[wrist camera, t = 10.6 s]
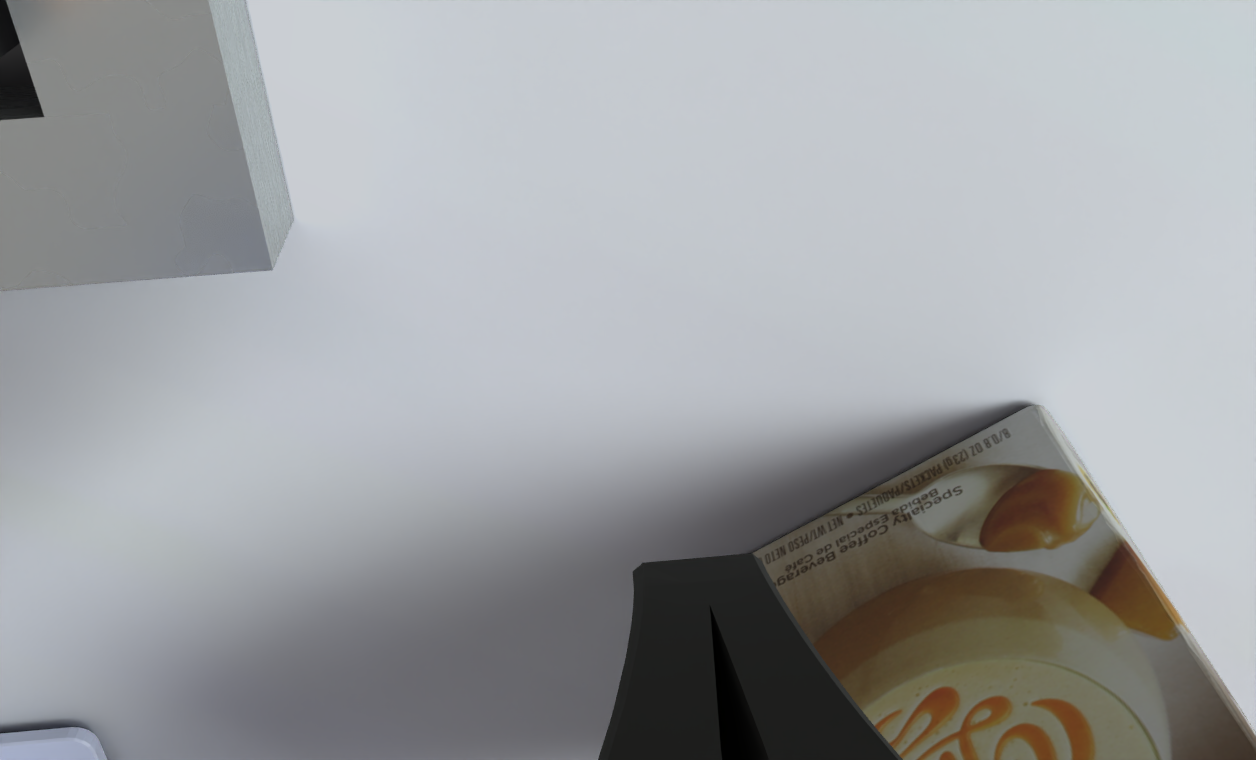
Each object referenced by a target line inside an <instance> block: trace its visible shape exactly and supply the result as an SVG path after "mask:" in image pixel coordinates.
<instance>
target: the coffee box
mask: <svg viewBox="0 0 1256 760" xmlns="http://www.w3.org/2000/svg"><path fill="white" fill-rule="evenodd" d="M752 554H754V555H755V556H756V557H758V558H759V559H760V560H761V561H762V562H763V564H764V566H765V568H766V570H767V572H768V574H769V576H770V577H771V579H772V581H773V583H774V585H775V586H776V588H777V590H778V591H779V593H780V595H781V597H782V598H783V600H784V601H785V603H786V605H787V606H788V608H789V609H790V611H791V613H792V614H793V616H794V617H795V619H796V620H797V622H798V623H799V625H800V626H801V628H802V629H803V631H804V632H805V634H806V635H807V637H808V638H809V640H810V641H811V643H812V644H813V646H814V647H815V649H816V650H817V651H818V653H819V654H820V656H821V657H822V658H823V660H824V661H825V663H826V664H827V665H828V667H829V668H830V669H831V671H832V672H833V673H834V675H835V676H836V677H837V679H838V680H839V681H840V683H841V684H842V685H843V687H844V688H845V689H846V691H847V692H848V693H849V695H850V696H851V697H852V699H853V700H854V701H855V702H856V704H857V705H858V706H859V707H860V709H861V710H862V711H863V712H864V714H865V715H866V716H867V717H868V719H869V720H870V721H871V722H872V724H873V725H874V726H875V727H876V728H877V730H878V731H879V732H880V733H881V734H882V736H883V737H884V738H885V739H886V740H887V741H888V743H889V744H890V745H891V746H892V747H893V748H894V750H895V751H896V752H897V753H898V754H899V756H900V757H901V758H902V759H903V760H1256V732H1255V730H1254V729H1253V727H1252V726H1251V724H1250V723H1249V721H1248V720H1247V718H1246V716H1245V715H1244V713H1243V712H1242V710H1241V709H1240V707H1239V706H1238V704H1237V703H1236V701H1235V699H1234V698H1233V696H1232V695H1231V693H1230V692H1229V690H1228V689H1227V687H1226V686H1225V684H1224V682H1223V681H1222V679H1221V678H1220V676H1219V675H1218V673H1217V672H1216V670H1215V669H1214V667H1213V665H1212V664H1211V662H1210V661H1209V659H1208V658H1207V656H1206V655H1205V653H1204V652H1203V650H1202V649H1201V647H1200V645H1199V644H1198V642H1197V641H1196V639H1195V638H1194V636H1193V635H1192V633H1191V632H1190V630H1189V628H1188V627H1187V625H1186V624H1185V622H1184V621H1183V619H1182V617H1181V616H1180V614H1179V613H1178V611H1177V610H1176V608H1175V606H1174V605H1173V603H1172V602H1171V600H1170V599H1169V597H1168V596H1167V594H1166V592H1165V591H1164V589H1163V587H1162V586H1161V584H1160V583H1159V581H1158V579H1157V578H1156V576H1155V575H1154V573H1153V572H1152V570H1151V569H1150V567H1149V566H1148V564H1147V562H1146V561H1145V559H1144V557H1143V556H1142V554H1141V552H1140V551H1139V549H1138V548H1137V546H1136V545H1135V543H1134V542H1133V540H1132V539H1131V537H1130V536H1129V534H1128V533H1127V531H1126V529H1125V528H1124V526H1123V525H1122V523H1121V522H1120V520H1119V519H1118V517H1117V516H1116V514H1115V512H1114V511H1113V509H1112V508H1111V506H1110V505H1109V503H1108V502H1107V500H1106V498H1105V497H1104V495H1103V494H1102V492H1101V490H1100V489H1099V487H1098V486H1097V484H1096V483H1095V481H1094V479H1093V478H1092V476H1091V475H1090V473H1089V472H1088V470H1087V468H1086V467H1085V465H1084V464H1083V462H1082V460H1081V459H1080V457H1079V456H1078V454H1077V453H1076V451H1075V450H1074V448H1073V446H1072V445H1071V443H1070V442H1069V440H1068V439H1067V437H1066V436H1065V434H1064V433H1063V431H1062V430H1061V428H1060V427H1059V425H1058V424H1057V423H1056V421H1055V420H1054V419H1053V417H1052V416H1051V415H1050V413H1049V412H1048V411H1047V410H1046V409H1045V408H1044V407H1043V406H1041V405H1033V406H1028V407H1026V408H1024V409H1022V410H1020V411H1018V412H1016V413H1015V414H1013V415H1011V416H1009V417H1007V418H1005V419H1003V420H1001V421H1000V422H998V423H996V424H994V425H992V426H990V427H988V428H987V429H985V430H983V431H981V432H979V433H977V434H975V435H973V436H971V437H969V438H968V439H966V440H964V441H962V442H960V443H958V444H956V445H954V446H952V447H951V448H949V449H947V450H945V451H943V452H941V453H939V454H937V455H936V456H934V457H932V458H930V459H928V460H926V461H924V462H923V463H921V464H919V465H917V466H915V467H913V468H911V469H909V470H908V471H906V472H904V473H902V474H900V475H898V476H896V477H894V478H893V479H891V480H889V481H887V482H885V483H883V484H881V485H879V486H877V487H876V488H874V489H872V490H870V491H868V492H866V493H864V494H862V495H861V496H859V497H857V498H855V499H853V500H851V501H849V502H847V503H846V504H844V505H842V506H840V507H838V508H836V509H834V510H833V511H831V512H829V513H827V514H825V515H823V516H821V517H820V518H818V519H816V520H814V521H812V522H810V523H808V524H806V525H804V526H802V527H800V528H798V529H797V530H795V531H793V532H791V533H789V534H787V535H785V536H784V537H782V538H780V539H778V540H776V541H774V542H772V543H771V544H769V545H767V546H765V547H763V548H761V549H759V550H757V551H755V552H753V553H752Z"/></svg>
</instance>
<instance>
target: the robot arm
mask: <svg viewBox="0 0 1256 760" xmlns="http://www.w3.org/2000/svg"><path fill="white" fill-rule="evenodd" d="M633 582H634V603H633V615H632V624H631V631H630V637H629V643H628V648H627V654H626V659H625V664H624V668H623V672H622V676H621V681H620V685H619V689H618V693H617V697H616V702H615V706H614V710H613V713H612V717H611V721H610V724H609V727H608V730H607V733H606V737H605V740H604V743H603V746H602V749H601V752H600V755H599V759H598V760H903V759H902V758H901V757H900V756H899V754H898V753H897V752H896V751H895V750H894V748H893V747H892V746H891V745H890V744H889V743H888V741H887V740H886V739H885V738H884V737H883V736H882V734H881V733H880V732H879V731H878V730H877V728H876V727H875V726H874V725H873V724H872V722H871V721H870V720H869V719H868V717H867V716H866V715H865V714H864V712H863V711H862V710H861V709H860V707H859V706H858V705H857V704H856V702H855V701H854V700H853V699H852V697H851V696H850V695H849V693H848V692H847V691H846V689H845V688H844V687H843V685H842V684H841V683H840V681H839V680H838V679H837V677H836V676H835V675H834V673H833V672H832V671H831V669H830V668H829V667H828V665H827V664H826V663H825V661H824V660H823V658H822V657H821V656H820V654H819V653H818V651H817V650H816V649H815V647H814V646H813V644H812V643H811V641H810V640H809V638H808V637H807V635H806V634H805V632H804V631H803V629H802V628H801V626H800V625H799V623H798V622H797V620H796V619H795V617H794V616H793V614H792V613H791V611H790V609H789V608H788V606H787V605H786V603H785V601H784V600H783V598H782V597H781V595H780V593H779V591H778V590H777V588H776V586H775V585H774V583H773V581H772V579H771V577H770V576H769V574H768V572H767V570H766V568H765V566H764V564H763V562H762V561H761V560H760V559H759V558H758V557H756V556H755V555H754V554H752V553H751V554H739V555H728V556H716V557H705V558H693V559H682V560H670V561H659V562H647V563H642V564H641V565H640V566H639V567H638V568H636V569H635V570H634V571H633ZM0 760H107V757H106V755H105V753H104V750H103V748H102V746H101V743H100V741H99V739H98V738H97V737H96V735H95V734H94V733H92V732H90V731H89V730H87V729H84V728H80V727H67V728H56V729H45V730H34V731H23V732H12V733H1V734H0Z"/></svg>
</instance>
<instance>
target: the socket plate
mask: <svg viewBox="0 0 1256 760" xmlns="http://www.w3.org/2000/svg"><path fill="white" fill-rule="evenodd" d="M6 2H7V5H8V8H9V11H10V14H11V17H12V20H13V24H14V27H15V30H16V33H17V36H18V39H19V42H20V43H19V44H18V45H17V46H15V47H14V48H13V49H11V50H10V51H9V52H7V53H6V54H5V55H3V56H2V57H1V58H0V291H5V290H18V289H31V288H44V287H58V286H71V285H84V284H97V283H110V282H123V281H136V280H149V279H162V278H176V277H189V276H202V275H215V274H228V273H241V272H254V271H267V270H273V268H274V266H275V264H276V261H277V259H278V256H279V254H280V252H281V249H282V247H283V245H284V242H285V240H286V237H287V235H288V233H289V230H290V228H291V225H292V223H293V221H294V218H293V214H292V209H291V205H290V200H289V196H288V191H287V187H286V182H285V178H284V173H283V169H282V164H281V160H280V155H279V151H278V146H277V142H276V137H275V133H274V128H273V124H272V119H271V115H270V110H269V106H268V101H267V97H266V92H265V88H264V83H263V79H262V74H261V70H260V65H259V61H258V56H257V52H256V47H255V43H254V38H253V34H252V29H251V25H250V20H249V16H248V11H247V7H246V2H245V0H6Z"/></svg>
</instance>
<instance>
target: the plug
mask: <svg viewBox="0 0 1256 760" xmlns="http://www.w3.org/2000/svg"><path fill="white" fill-rule="evenodd" d="M19 43H20V42H19V39H18V36H17V33H16V30H15V27H14V24H13V20H12V17H11V14H10V11H9V8H8V5H7V2H6V0H0V58H1V57H2V56H3V55H5V54H6V53H7V52H9V51H10V50H11V49H13V48H14V47H15V46H17V45H18V44H19Z"/></svg>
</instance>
